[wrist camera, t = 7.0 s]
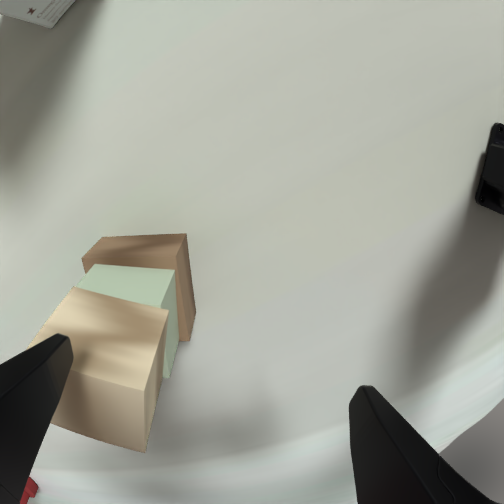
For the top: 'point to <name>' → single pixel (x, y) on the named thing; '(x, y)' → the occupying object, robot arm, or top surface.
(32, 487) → the stand mixer
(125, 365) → the maple cube
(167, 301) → the sage block
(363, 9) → the top surface
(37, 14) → the supplement box
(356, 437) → the robot arm
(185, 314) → the walnut base block
